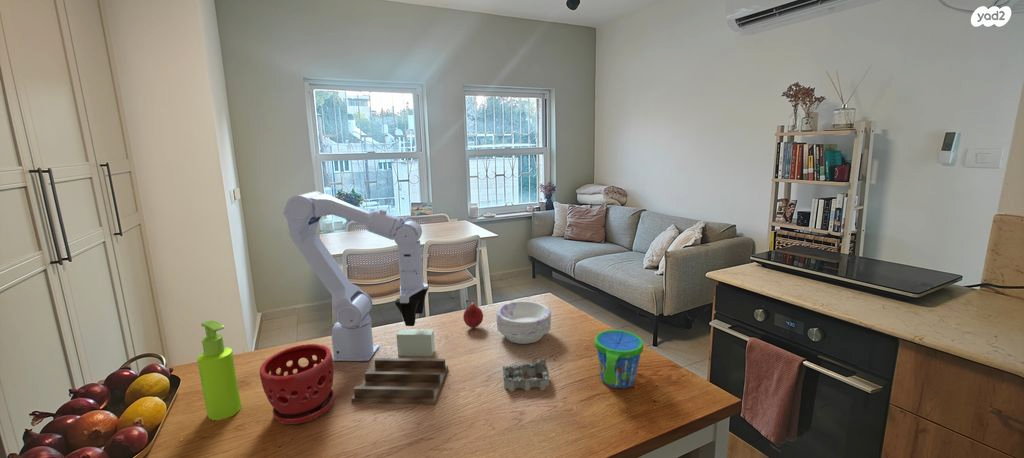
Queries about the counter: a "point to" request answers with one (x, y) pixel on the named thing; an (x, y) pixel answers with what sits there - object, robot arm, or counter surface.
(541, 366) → the egg carton
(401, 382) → the rack
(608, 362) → the snack cup
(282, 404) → the plant pot
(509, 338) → the paper bowls
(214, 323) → the soap dispenser
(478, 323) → the onion
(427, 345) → the pale green block
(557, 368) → the counter surface
